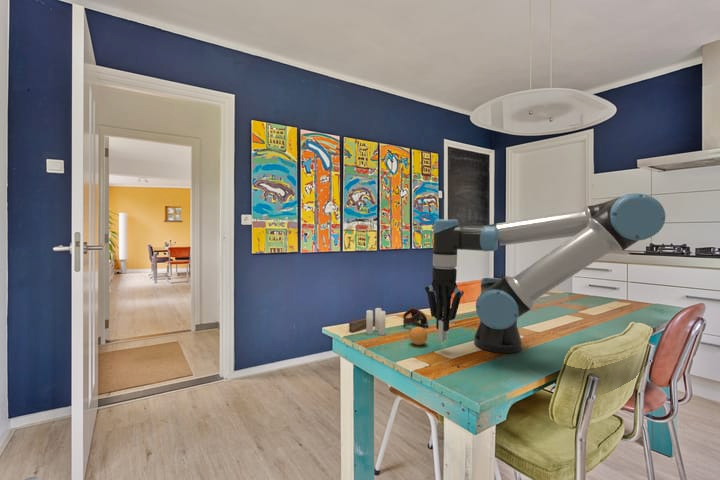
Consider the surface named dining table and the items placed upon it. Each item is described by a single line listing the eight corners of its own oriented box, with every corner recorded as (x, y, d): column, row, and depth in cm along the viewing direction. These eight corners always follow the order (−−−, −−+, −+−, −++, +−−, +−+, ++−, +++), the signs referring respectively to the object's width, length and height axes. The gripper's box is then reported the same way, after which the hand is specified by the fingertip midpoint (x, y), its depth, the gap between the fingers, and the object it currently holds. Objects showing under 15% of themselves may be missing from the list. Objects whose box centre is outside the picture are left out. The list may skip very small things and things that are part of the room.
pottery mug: (431, 331, 141) (422, 314, 139) (409, 340, 143) (400, 323, 141) (427, 315, 152) (419, 299, 150) (407, 324, 154) (399, 308, 152)
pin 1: (374, 333, 135) (374, 310, 135) (369, 334, 134) (370, 312, 133) (369, 332, 137) (369, 309, 137) (364, 333, 135) (365, 310, 135)
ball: (430, 344, 124) (430, 327, 124) (420, 348, 119) (421, 330, 119) (415, 340, 128) (416, 323, 128) (405, 344, 123) (406, 327, 123)
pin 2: (382, 330, 139) (382, 308, 139) (378, 331, 137) (378, 309, 137) (377, 329, 141) (378, 307, 140) (373, 330, 139) (373, 308, 139)
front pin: (386, 334, 135) (386, 311, 134) (382, 335, 133) (382, 312, 132) (381, 332, 136) (381, 310, 136) (377, 334, 134) (377, 311, 134)
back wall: (375, 325, 146) (375, 317, 145) (352, 332, 136) (352, 323, 136) (371, 324, 147) (371, 316, 147) (349, 331, 137) (349, 322, 137)
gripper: (469, 268, 114) (466, 342, 115) (433, 264, 123) (431, 332, 124) (457, 270, 109) (454, 347, 110) (420, 266, 118) (418, 337, 119)
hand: (442, 339), depth 117 cm, fingers closed
